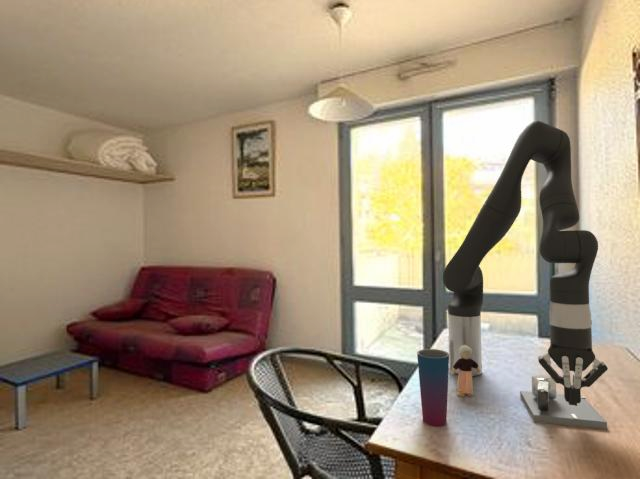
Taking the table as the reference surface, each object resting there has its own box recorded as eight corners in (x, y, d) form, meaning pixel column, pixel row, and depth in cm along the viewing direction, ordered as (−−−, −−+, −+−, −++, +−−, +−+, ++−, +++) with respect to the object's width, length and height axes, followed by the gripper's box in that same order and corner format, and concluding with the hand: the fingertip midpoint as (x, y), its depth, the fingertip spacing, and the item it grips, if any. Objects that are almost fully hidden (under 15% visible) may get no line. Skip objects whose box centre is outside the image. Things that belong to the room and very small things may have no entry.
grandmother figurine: (458, 399, 96) (457, 348, 96) (449, 393, 100) (448, 344, 100) (484, 395, 98) (483, 345, 98) (474, 389, 102) (473, 341, 102)
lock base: (533, 421, 83) (533, 414, 83) (520, 396, 96) (520, 390, 96) (608, 429, 79) (608, 421, 79) (583, 402, 92) (583, 395, 92)
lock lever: (532, 389, 94) (532, 373, 94) (556, 393, 92) (555, 376, 92) (529, 408, 84) (529, 390, 84) (556, 413, 82) (556, 394, 82)
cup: (426, 411, 89) (424, 347, 89) (455, 419, 85) (453, 352, 85) (413, 422, 84) (411, 354, 84) (443, 431, 80) (441, 360, 80)
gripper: (604, 322, 83) (606, 402, 83) (534, 317, 89) (536, 392, 89) (612, 329, 76) (614, 417, 76) (535, 324, 82) (538, 405, 82)
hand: (572, 403), depth 82 cm, fingers closed
